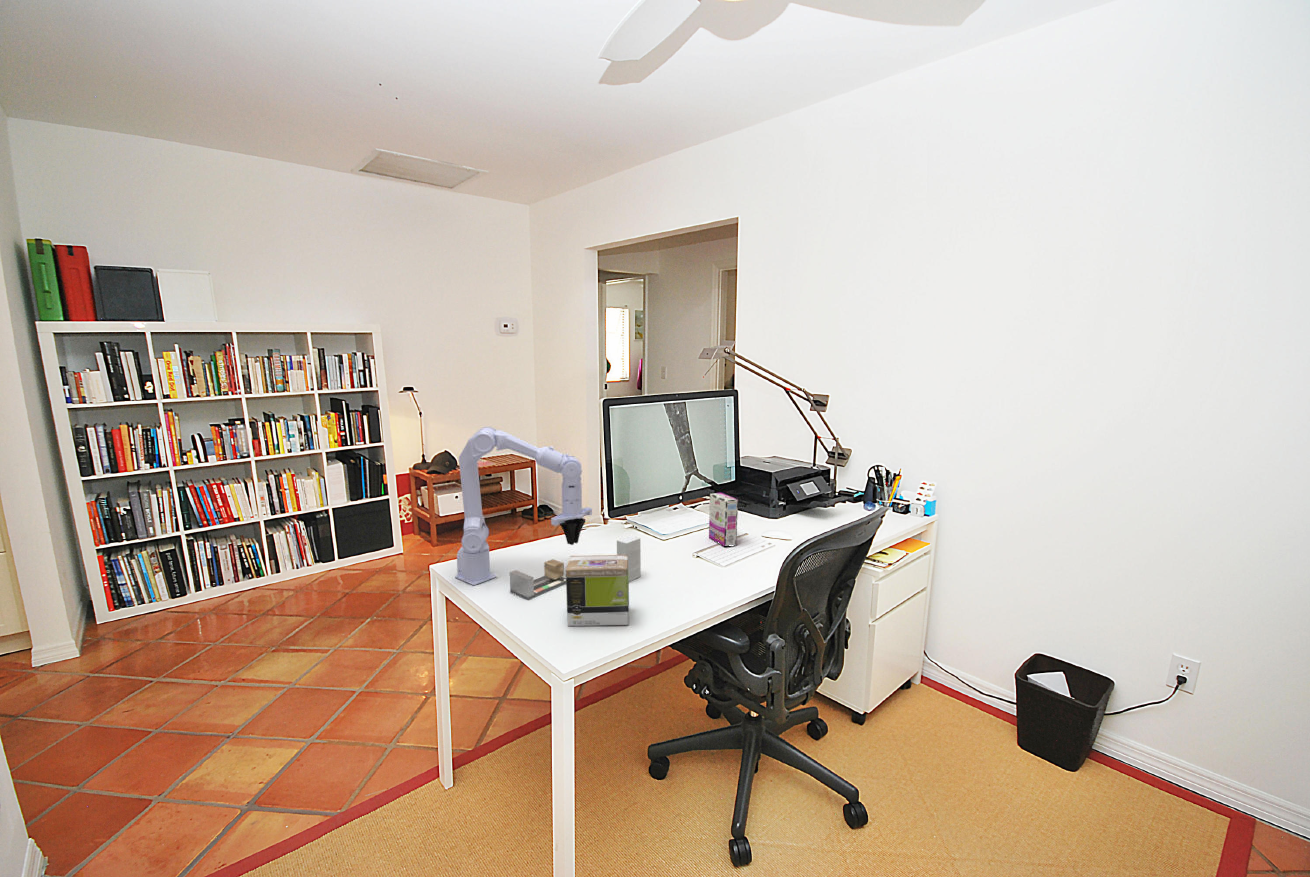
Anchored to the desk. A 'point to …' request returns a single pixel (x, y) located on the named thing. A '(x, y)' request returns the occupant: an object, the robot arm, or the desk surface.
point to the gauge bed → (532, 584)
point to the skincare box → (631, 555)
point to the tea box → (597, 590)
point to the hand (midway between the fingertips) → (572, 543)
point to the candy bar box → (723, 519)
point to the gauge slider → (554, 569)
